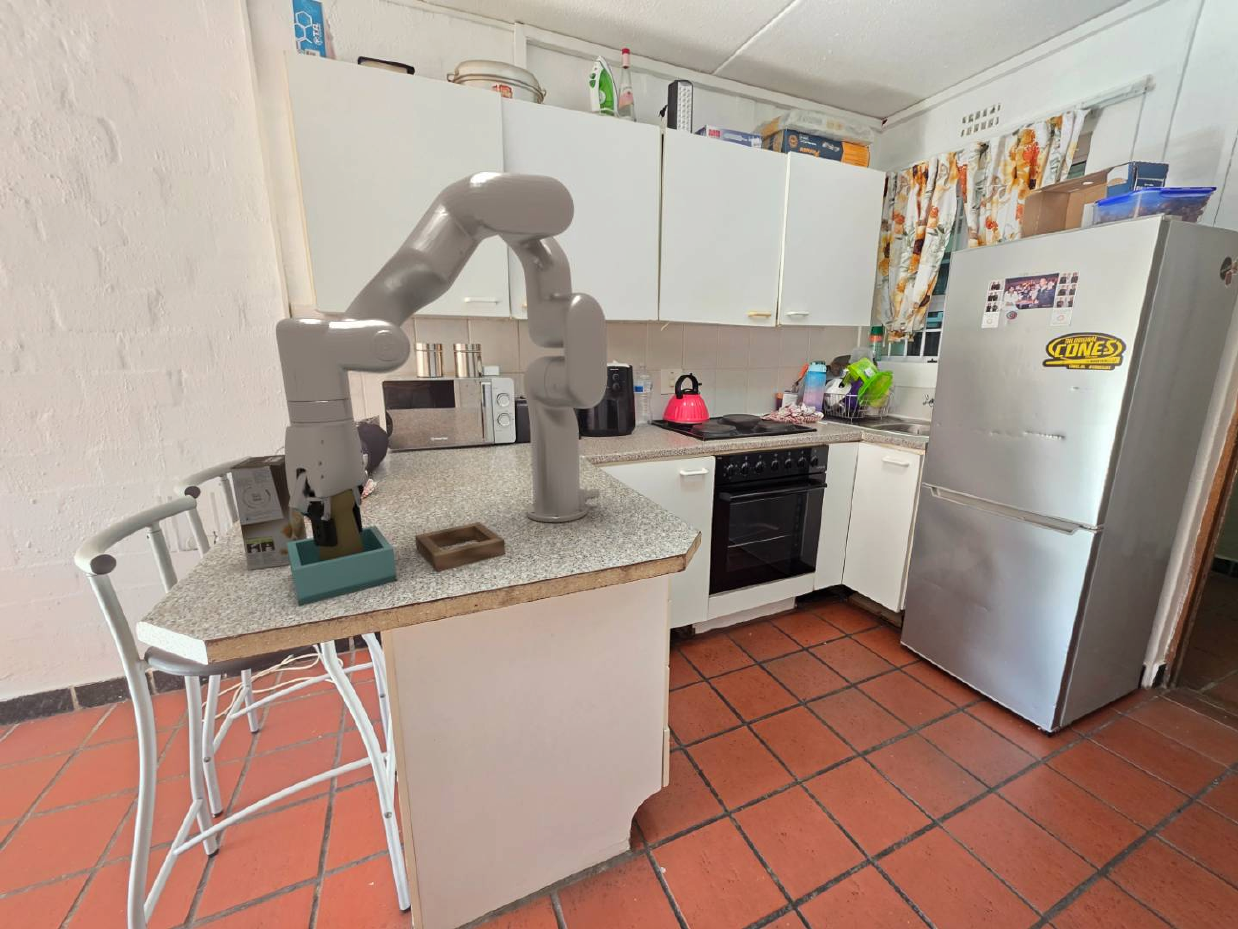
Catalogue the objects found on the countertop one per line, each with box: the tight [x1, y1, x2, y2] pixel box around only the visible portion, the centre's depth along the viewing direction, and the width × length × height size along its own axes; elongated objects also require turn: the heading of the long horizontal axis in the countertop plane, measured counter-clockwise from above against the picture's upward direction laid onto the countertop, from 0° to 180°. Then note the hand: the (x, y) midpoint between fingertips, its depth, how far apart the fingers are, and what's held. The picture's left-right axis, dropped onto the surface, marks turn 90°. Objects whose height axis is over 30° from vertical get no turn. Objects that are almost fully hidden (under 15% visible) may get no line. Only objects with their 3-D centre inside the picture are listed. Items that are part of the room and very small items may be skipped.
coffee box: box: [229, 454, 308, 571], centre depth 77 cm, size 9×6×16 cm
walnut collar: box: [414, 521, 506, 573], centre depth 80 cm, size 11×11×2 cm
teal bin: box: [287, 525, 398, 607], centre depth 71 cm, size 12×12×5 cm
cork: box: [316, 490, 365, 562], centre depth 70 cm, size 6×6×11 cm
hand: (339, 537), depth 70 cm, fingers open, 4 cm apart
